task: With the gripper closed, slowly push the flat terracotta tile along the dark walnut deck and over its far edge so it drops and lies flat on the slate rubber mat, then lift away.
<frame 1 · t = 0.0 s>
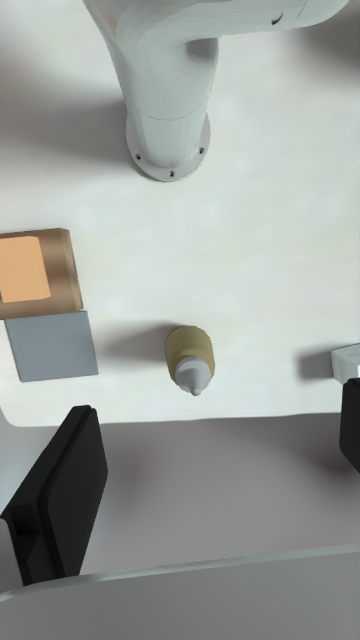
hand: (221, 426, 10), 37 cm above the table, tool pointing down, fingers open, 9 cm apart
deck: (38, 274, 44), on the table
mat: (54, 346, 47), on the table
skincare box: (346, 360, 50), on the table
squeeze bottle: (187, 341, 48), on the table
tile: (25, 269, 40), point 3 cm above the table, touching deck
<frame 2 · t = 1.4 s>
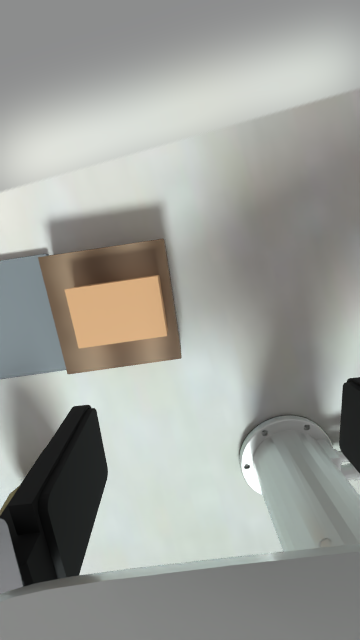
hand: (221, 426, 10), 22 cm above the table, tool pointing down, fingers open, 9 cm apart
deck: (119, 304, 31), on the table
mat: (14, 320, 32), on the table
tile: (122, 308, 28), point 3 cm above the table, touching deck
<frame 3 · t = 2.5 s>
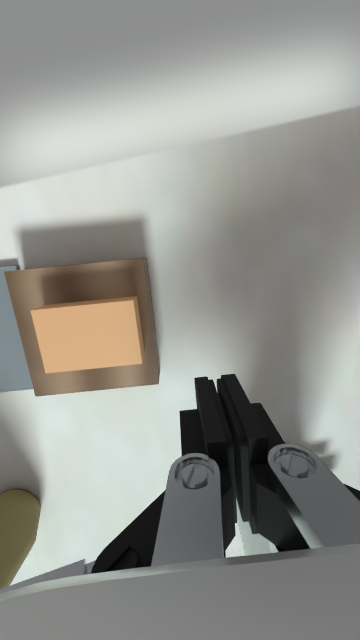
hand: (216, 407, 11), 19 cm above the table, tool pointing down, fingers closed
deck: (95, 322, 29), on the table
squeeze bottle: (19, 504, 35), on the table
tile: (95, 330, 26), point 3 cm above the table, touching deck
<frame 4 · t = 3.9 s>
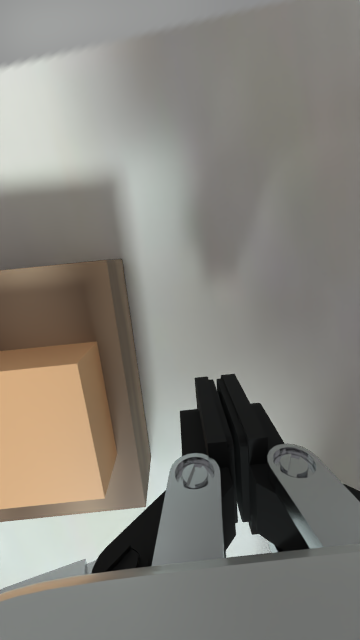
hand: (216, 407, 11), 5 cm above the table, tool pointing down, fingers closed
deck: (31, 378, 16), on the table
tile: (13, 410, 12), point 3 cm above the table, touching deck
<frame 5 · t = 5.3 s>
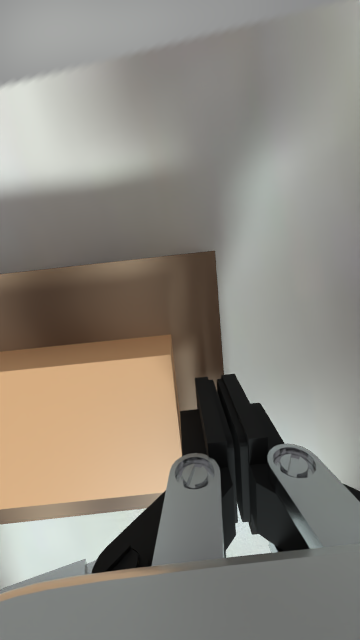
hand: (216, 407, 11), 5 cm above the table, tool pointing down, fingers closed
deck: (107, 373, 16), on the table
tile: (84, 403, 12), point 3 cm above the table, touching deck
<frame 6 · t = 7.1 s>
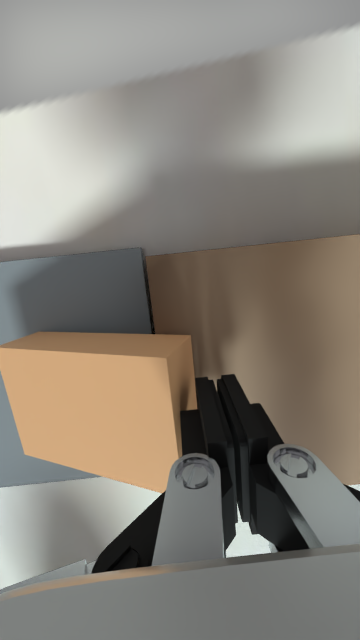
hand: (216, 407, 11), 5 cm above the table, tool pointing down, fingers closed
deck: (271, 354, 16), on the table
mat: (58, 376, 16), on the table
tile: (114, 388, 14), point 2 cm above the table, tilted 23°, touching deck, gripper
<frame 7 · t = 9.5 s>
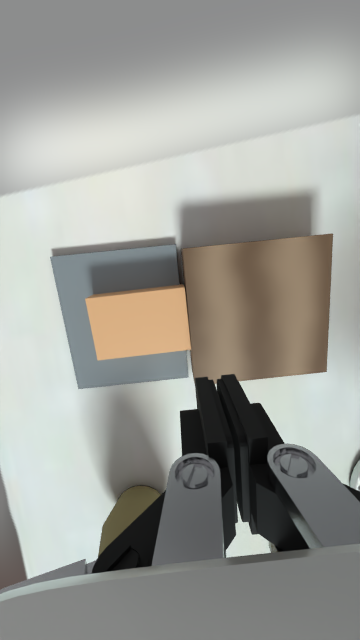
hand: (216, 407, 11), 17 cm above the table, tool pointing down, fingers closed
deck: (248, 307, 27), on the table
mat: (124, 319, 27), on the table
squeeze bottle: (141, 501, 33), on the table
tile: (142, 318, 27), point 1 cm above the table, touching mat
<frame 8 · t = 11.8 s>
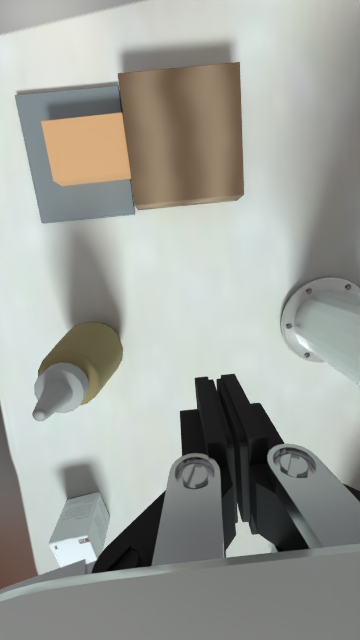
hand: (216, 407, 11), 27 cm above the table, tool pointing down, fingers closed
deck: (183, 149, 33), on the table
mat: (79, 159, 33), on the table
skincare box: (89, 506, 46), on the table
squeeze bottle: (100, 341, 39), on the table
tile: (93, 155, 32), point 1 cm above the table, touching mat
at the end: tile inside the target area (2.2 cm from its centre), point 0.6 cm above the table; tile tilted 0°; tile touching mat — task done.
